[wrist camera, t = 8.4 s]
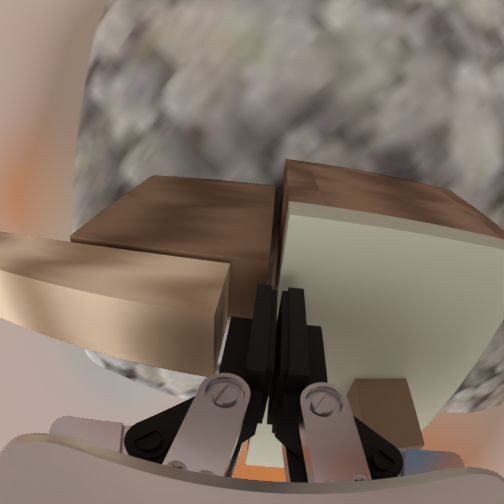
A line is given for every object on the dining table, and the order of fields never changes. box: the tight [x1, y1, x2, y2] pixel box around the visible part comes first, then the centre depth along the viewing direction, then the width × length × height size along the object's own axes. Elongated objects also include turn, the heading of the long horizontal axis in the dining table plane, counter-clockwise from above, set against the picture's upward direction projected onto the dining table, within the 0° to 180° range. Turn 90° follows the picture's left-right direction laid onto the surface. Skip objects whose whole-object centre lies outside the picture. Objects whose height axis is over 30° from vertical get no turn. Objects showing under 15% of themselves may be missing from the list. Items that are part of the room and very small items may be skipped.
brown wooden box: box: [70, 159, 504, 449], centre depth 21 cm, size 22×22×10 cm
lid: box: [246, 201, 504, 468], centre depth 14 cm, size 13×22×6 cm, turn 175°
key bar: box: [0, 232, 230, 377], centre depth 11 cm, size 14×3×3 cm, turn 85°
